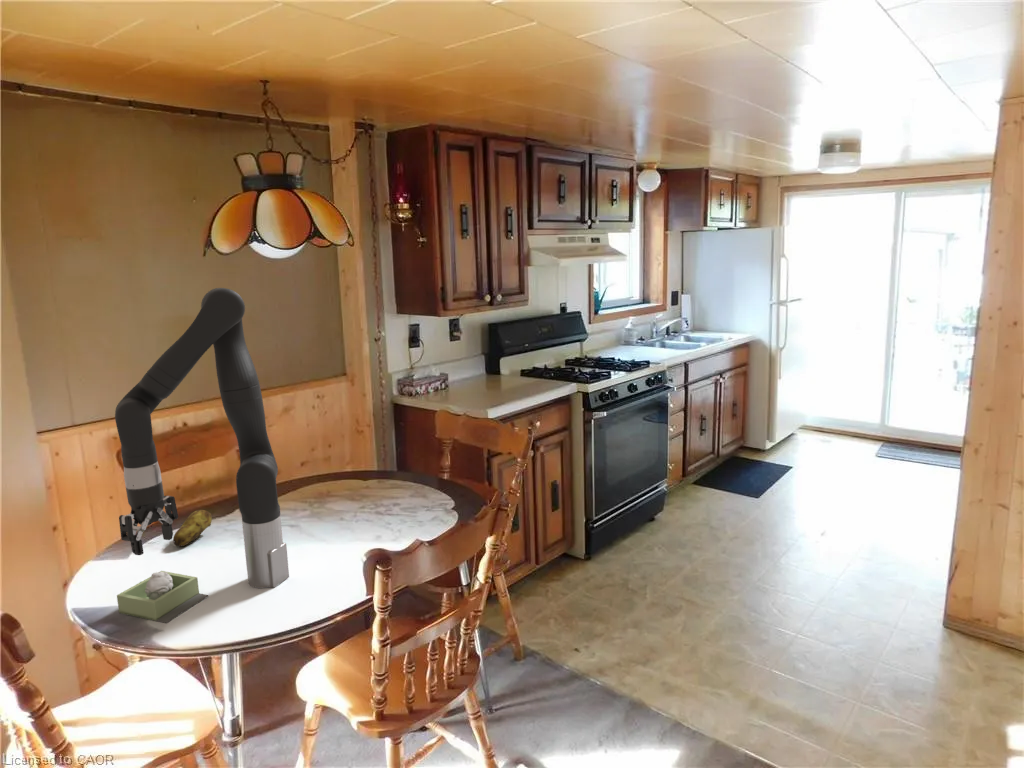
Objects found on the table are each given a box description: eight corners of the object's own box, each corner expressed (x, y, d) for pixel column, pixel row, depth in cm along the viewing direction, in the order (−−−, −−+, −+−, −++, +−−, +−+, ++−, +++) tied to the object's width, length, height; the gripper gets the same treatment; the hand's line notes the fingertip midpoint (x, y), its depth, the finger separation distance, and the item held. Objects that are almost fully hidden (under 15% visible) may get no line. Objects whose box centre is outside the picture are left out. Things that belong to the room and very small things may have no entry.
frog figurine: (179, 593, 168) (176, 567, 167) (167, 607, 161) (163, 580, 160) (154, 594, 168) (151, 567, 167) (141, 608, 161) (137, 581, 160)
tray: (208, 596, 168) (206, 579, 167) (166, 623, 156) (164, 605, 155) (163, 587, 172) (161, 570, 172) (119, 613, 160) (116, 595, 160)
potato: (164, 544, 198) (161, 518, 197) (205, 529, 208) (203, 504, 207) (179, 551, 193) (176, 524, 192) (221, 535, 204) (218, 510, 202)
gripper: (130, 494, 150) (141, 561, 154) (180, 473, 164) (189, 536, 167) (104, 491, 153) (116, 558, 156) (155, 471, 166) (165, 533, 169)
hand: (153, 546), depth 162 cm, fingers open, 8 cm apart
